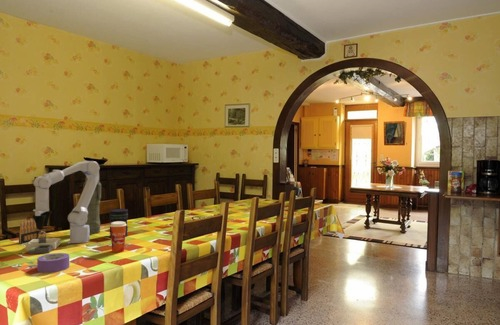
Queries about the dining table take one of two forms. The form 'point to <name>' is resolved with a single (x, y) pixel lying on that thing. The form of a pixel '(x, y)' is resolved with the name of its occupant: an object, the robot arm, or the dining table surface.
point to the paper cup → (118, 236)
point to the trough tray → (35, 243)
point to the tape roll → (53, 262)
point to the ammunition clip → (28, 232)
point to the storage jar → (119, 217)
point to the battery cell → (42, 237)
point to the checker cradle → (40, 249)
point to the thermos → (94, 209)
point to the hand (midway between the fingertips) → (42, 227)
